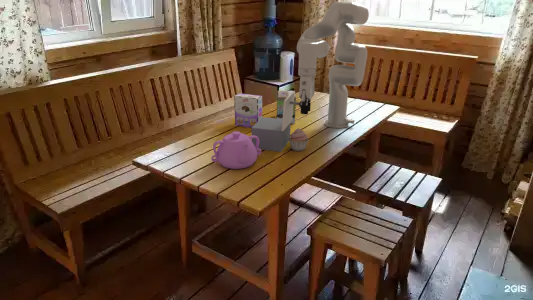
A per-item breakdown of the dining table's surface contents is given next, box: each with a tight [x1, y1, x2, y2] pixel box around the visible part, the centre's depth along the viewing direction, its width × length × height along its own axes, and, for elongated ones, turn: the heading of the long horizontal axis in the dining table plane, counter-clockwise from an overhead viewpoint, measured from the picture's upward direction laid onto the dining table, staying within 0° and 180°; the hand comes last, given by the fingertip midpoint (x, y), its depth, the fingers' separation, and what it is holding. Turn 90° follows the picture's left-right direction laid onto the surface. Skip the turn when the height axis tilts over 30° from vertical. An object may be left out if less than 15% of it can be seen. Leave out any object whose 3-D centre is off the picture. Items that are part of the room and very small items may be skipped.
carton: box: [251, 116, 291, 153], centre depth 194 cm, size 14×16×10 cm
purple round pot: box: [210, 130, 262, 170], centre depth 171 cm, size 22×22×14 cm
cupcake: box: [288, 127, 310, 152], centre depth 188 cm, size 9×9×10 cm
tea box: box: [276, 90, 297, 125], centre depth 226 cm, size 15×10×15 cm
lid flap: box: [282, 90, 306, 131], centre depth 186 cm, size 14×16×9 cm
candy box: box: [233, 92, 263, 129], centre depth 217 cm, size 14×6×16 cm, turn 65°
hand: (305, 112), depth 185 cm, fingers closed on lid flap, 4 cm apart
